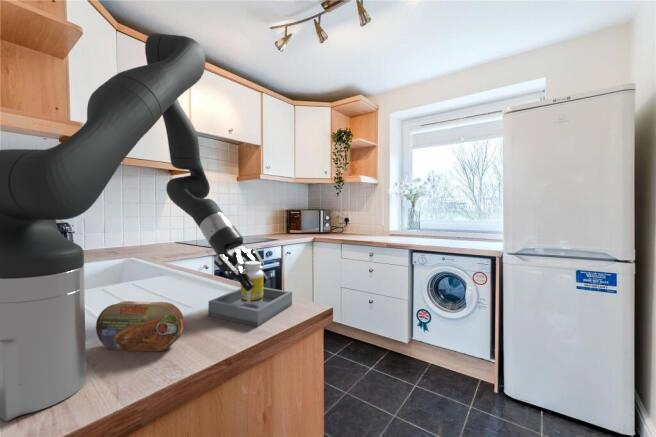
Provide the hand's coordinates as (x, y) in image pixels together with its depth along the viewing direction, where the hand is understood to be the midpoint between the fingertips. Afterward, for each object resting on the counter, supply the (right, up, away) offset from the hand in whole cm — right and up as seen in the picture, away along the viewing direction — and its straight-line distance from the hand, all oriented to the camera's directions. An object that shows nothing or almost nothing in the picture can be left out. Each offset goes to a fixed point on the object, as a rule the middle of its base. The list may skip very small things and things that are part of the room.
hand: (258, 285), depth 70 cm
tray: (-2, -6, +1) cm, 7 cm away
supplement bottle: (-2, -4, +1) cm, 5 cm away
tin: (-17, -7, -18) cm, 26 cm away
